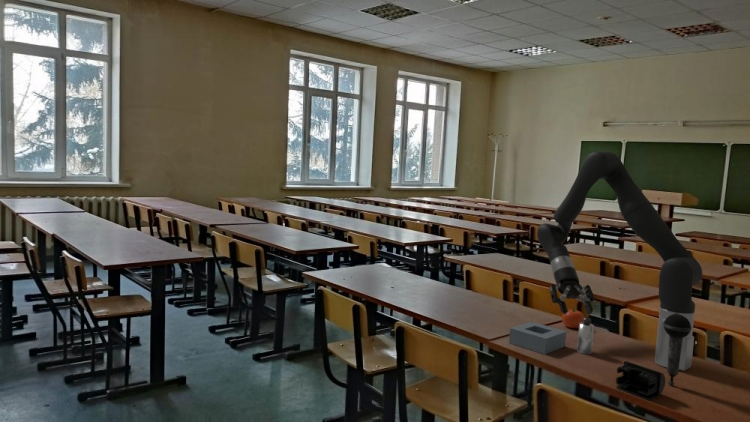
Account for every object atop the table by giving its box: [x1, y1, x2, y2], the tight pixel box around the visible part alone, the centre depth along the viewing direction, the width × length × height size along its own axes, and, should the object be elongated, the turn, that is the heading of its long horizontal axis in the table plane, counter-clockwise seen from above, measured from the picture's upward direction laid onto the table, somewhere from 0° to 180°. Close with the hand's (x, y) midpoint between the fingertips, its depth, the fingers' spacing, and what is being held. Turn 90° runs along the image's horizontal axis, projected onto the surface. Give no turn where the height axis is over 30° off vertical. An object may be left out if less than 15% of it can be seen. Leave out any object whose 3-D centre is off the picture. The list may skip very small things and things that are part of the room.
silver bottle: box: [576, 317, 595, 355], centre depth 175 cm, size 4×4×11 cm
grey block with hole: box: [508, 321, 567, 355], centre depth 180 cm, size 13×13×5 cm
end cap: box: [615, 360, 666, 401], centre depth 145 cm, size 10×7×7 cm
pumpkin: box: [561, 307, 585, 329], centre depth 202 cm, size 8×8×7 cm
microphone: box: [663, 314, 692, 387], centre depth 150 cm, size 7×7×20 cm
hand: (578, 313), depth 180 cm, fingers open, 8 cm apart
